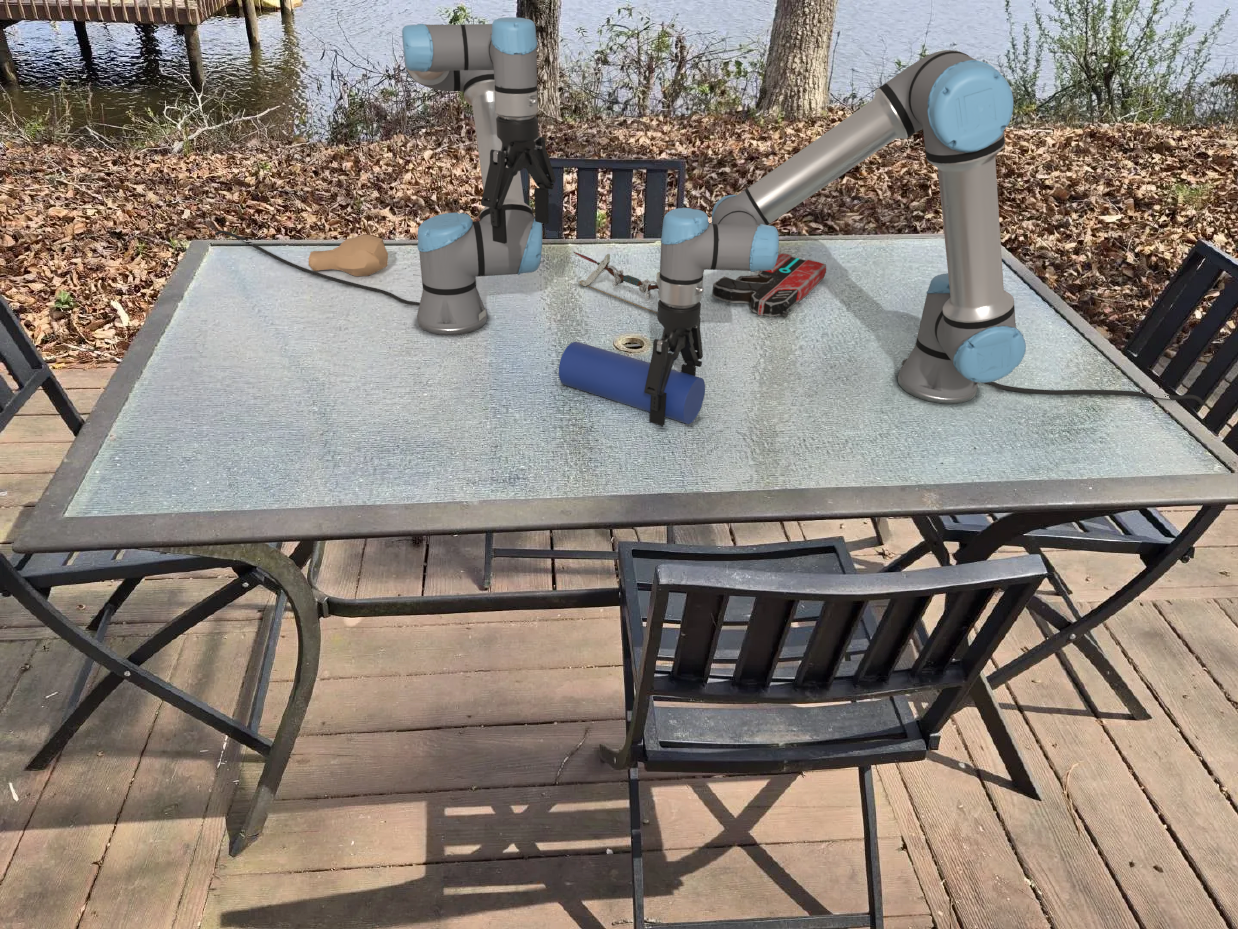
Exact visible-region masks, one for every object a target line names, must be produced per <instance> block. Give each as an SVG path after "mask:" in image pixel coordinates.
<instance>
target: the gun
mask: <svg viewBox="0 0 1238 929" xmlns="http://www.w3.org/2000/svg"><path fill="white" fill-rule="evenodd" d="M826 273H827V264H826V263H823V262H820V261H816V260H812V259H802V258H799V257H795V256H793V255H792V254H791V253H784V252H780V253H779V252H778V258H777V262H776V265H775V266H774V268H773V269H771V270H768V271H758V273H757V274H756V275H753V274H752V275H751V274H750V275H740V276H738V277H737V278H735V279H734V278H731V277H727V276H722V277H720V279H717V281H715V282H713V283H712V291H711V297H713V298H714V299H716V300H719V301H723V302H727V303H730V304H750V305H749V308H750V310H751V312H753V313H755V314H757V315H758V316H760V317H761V316H765V317H770V318H771V317H777V316H780V317H784V318H787V317H788V315H789V311H788V310H790V309H791V308H792V307H793V306H794V305H795V304H798V303H799V302H801V301H802V300H803V299H804V298H805V297H807V296H808V295H809V294H810V293H811V292H812V291H813V290H814V289H815V287H817V285H818V284H820V283H821V282H822V280H823V279H824V278H825V276H826Z"/></svg>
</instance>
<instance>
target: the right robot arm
mask: <svg viewBox="0 0 1238 929" xmlns="http://www.w3.org/2000/svg"><path fill="white" fill-rule="evenodd" d="M1013 111H1014V94H1013V91H1012V88H1011V86H1010V84H1009V82H1008V80H1007V79H1006V77H1004V75H1002V74H1001V72H1000V70H998V69H997V68H995V67H994V66H993V65H991V64H989V63H987V62H984V61H981V60H978V59H976V58H973V57H971V56H970V55H968V54H967V53H965V52H962V51H959V50H955V49H954V50H953V49H945V50H940V51H935V52H932V53H930V54H927V55H926V56H924V57H922V58H920V59H918V60H917V61H916V62H914V63H913V64H910V65H909V66H907V67H906V68H905V69H903V70H902V71H900V72H899V73H897V74H896V75H895V76H894V77H892V78H890V79H889V80H888V81H887V82H885V83H883V84H882V85H880V86H879V87H878V88H877V89H876V91H875V93H874V97H873V99H872V100H870V101H869V102H867V103H866V104H865V105H864V106H861V108H858V110H856V111H854V112H853V113H852V114H850V115H849V116H848V117H846V118H845V119H843V120H842V121H840V122H839V123H838V124H836V125H835V126H834V127H832V128H830V129H829V130H828V131H826V132H824V134H822V135H821V136H820V137H818V138H817V139H815V140H813V141H812V142H811V143H809V144H808V145H807V146H805V147H804V148H803V149H801V150H800V151H798V152H796V153H795V154H794V155H792V156H791V157H790V158H788V159H787V160H786V161H784V162H782V163H781V164H779V166H777V167H776V168H774V169H772V171H770V172H768V173H767V174H766V175H764V176H763V177H761V178H760V179H759V180H757V181H756V182H754V183H753V184H752V185H750V186H749V187H747V188H745V189H744V190H742V191H741V192H740V193H738V194H728V195H725V196H722V197H721V198H719V200H717V201H716V202H715V204H714V205H713V209H712V211H711V223H710V221H709V217H708V216H709V215H708V214H707V213H706V212H705V211H703V210H701V209H699V208H698V209H697V208H691V207H678V208H673V209H671V210H669V211H668V212H667V213H666V214H665V215H664V217H663V220H662V229H661V230H662V231H661V235H660V236H661V237H660V258H659V272H660V276H659V289H658V290H657V291H658V293H657V298H658V301H657V311H656V312H657V313H656V314H657V315H656V318H657V319H656V320H657V321H658V322H659V324H660V325H661V326H662V327H663V332H662V335H661V338H660V339H659V338H654V339H653V342H652V354H651V358H650V362H649V363H650V367H649V372H648V376H647V381H646V385H645V390H644V392H645V393H647V394H650V395H651V406H650V412H649V423H651V424H655V425H658V426H661V427H664V425H665V424H666V417H665V409H666V394H667V393H664V391H665V388H666V385H667V382H668V379H669V375H670V372H671V369H673V366H674V363H675V361H676V360H678V359H679V356H680V355H681V358H682V360H683V362H684V363H682V364H681V368H680V369H681V370H680V372H683V373H686V374H690V375H693V376H697V375H696V374H697V373H696V372H697V367H698V368H701V367H702V364H703V361H701V360H703V356H704V352H703V351H704V350H703V343H702V342H703V341H702V332H701V319H702V318H701V310H702V303H701V300H702V294H703V293H704V291H705V288H704V287H703V282H704V272H705V271H707V270H709V271H736V272H737V271H739V272H751V273H755V272H759V271H768V270H771V269H773V268H774V266H775V265H776V262H777V258H778V254H779V248H780V237H779V231H778V229H777V227H776V226H774V225H771V224H772V223H774V222H775V221H777V219H779V218H781V217H782V216H784V215H785V214H787V213H788V212H789V211H791V210H792V209H795V207H797V206H799V205H800V204H801V203H803V202H805V201H806V200H807V199H809V198H810V197H812V196H813V195H815V194H816V193H817V192H819V191H821V190H822V189H824V188H825V187H827V186H828V185H829V184H831V183H832V182H834V181H835V180H837V179H838V178H840V177H842V176H843V175H845V173H847V172H849V171H850V170H852V169H853V168H855V167H856V166H858V165H859V164H860V163H862V162H863V161H865V160H867V159H868V158H869V157H871V156H872V155H874V154H875V153H877V152H879V151H880V150H881V149H883V148H884V147H886V146H887V145H888V144H890V143H892V142H894V141H895V140H896V139H902V140H907V139H908V138H909V137H911V136H913V135H915V134H916V133H917V132H919V131H923V132H922V133H923V141H924V149H925V158H926V159H925V160H926V161H927V162H928V163H929V164H931V165H932V166H934V167H935V168H937V178H938V186H939V196H940V197H939V198H940V208H941V216H942V224H943V226H942V227H943V238H944V247H945V255H946V267H947V272H946V273H941V274H938V275H935V276H934V277H933V278H931V281H930V282H929V285H928V289H927V290H926V292H925V294H926V296H925V301H924V306H923V309H922V314H921V318H920V323H919V327H918V332H917V336H916V341H915V345H914V346H913V348H912V350H911V351H910V353H909V355H908V357H907V358H906V359H903V360H902V362H901V367H900V369H899V372H898V376H897V383H898V385H899V387H901V389H902V390H904V391H905V392H906V393H907V394H909V395H911V396H913V397H915V398H918V399H921V400H923V401H926V402H927V401H928V402H931V403H935V404H942V405H943V404H945V405H954V404H963V403H966V402H969V401H971V400H972V399H974V397H975V396H976V395H977V391H978V387H979V384H983V385H987V386H990V387H993V388H995V389H996V388H997V389H999V390H1002V391H1003V390H1004V391H1008V392H1015V393H1022V394H1031V395H1033V394H1035V395H1050V396H1051V395H1052V396H1053V395H1054V396H1055V395H1056V396H1057V395H1059V396H1062V395H1063V396H1064V395H1065V396H1068V395H1069V396H1071V395H1109V396H1110V395H1112V396H1113V395H1115V396H1130V397H1142V398H1149V399H1150V398H1151V399H1156V398H1155V397H1154V396H1153V395H1151V394H1143V393H1140V392H1141V391H1138V390H1137V391H1135V390H1121V389H1120V390H1119V389H1039V388H1025V387H1016V386H1010V385H1005V384H1001V383H998V382H995V381H999V380H1001V379H1003V378H1005V377H1007V376H1009V375H1010V374H1011V373H1013V371H1014V370H1015V369H1016V368H1017V367H1019V366H1020V364H1021V362H1022V361H1023V360H1024V357H1025V355H1026V350H1027V344H1026V341H1025V338H1024V334H1023V333H1022V332H1021V330H1020V329H1018V328H1017V324H1016V308H1015V298H1014V296H1013V295H1012V294H1011V293H1010V292H1009V291H1006V290H1005V286H1004V272H1003V270H1004V269H1003V257H1002V255H1003V254H1002V242H1001V225H1000V223H1001V222H1000V211H999V210H1000V208H999V194H998V180H997V179H998V178H997V162H996V157H997V155H998V154H999V153H1000V152H1001V151H1002V150H1003V149H1004V147H1005V145H1006V136H1005V134H1006V133H1005V131H1006V128H1007V127H1008V126H1009V124H1010V122H1011V120H1012V117H1013ZM1166 395H1167V396H1169V398H1170V399H1171V400H1170V401H1183V400H1193V401H1195V402H1196V403H1197V404H1199V405H1205V402H1204V400H1203V399H1202V398H1201V397H1199V396H1198V395H1195V394H1176V395H1174V394H1166ZM1165 397H1166V396H1165Z"/></svg>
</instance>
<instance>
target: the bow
mask: <svg viewBox="0 0 1238 929" xmlns="http://www.w3.org/2000/svg"><path fill="white" fill-rule="evenodd" d="M573 254H574V255H577V256H578V257H580V258H582V259H584V260H586V261H588V262H590V263H593V264H596V265H597V268H595V270H593V271H592V272H591V273H590V274H589V275H588V276H587V278H586V280H583V279H582V280H579V281H578V284H579V285H580V286H583V287H589V288H591V289H593V290H596V291H599V292H600V293H604V294H606V295H609V296H612V297H614V298H617V299H619V300H621V301H625V302H626V303H629V304H632V305H634V306H637V307H640V308H642V309H645V310H647V311H650V312H652V313H655V314H657V311H654V310H652V309H649V308H646V307H644V306H642V305H638V304H636V303H634V302H631V301H628V300H626V299H623V298H621V297H618V296H616V295H613V294H611V293H609V292H606V291H604V290H601V289H598V288H596V287H593V286H590V285H591V284H594V283H595V281H596V280H597V279H598V278H599V277H600V276H601V275H602V274H603V273H604V272H606V271H607V272H608V273H609V274H610V275H611V276H612V277H613V282H612V287H613V288H616V287H619V285H621V284H624V283H628V284H630V285H633V286H636V287H638V290H639V292H640V293H642V294H645V295H644V296H645V298H644V299H645V300H651V299H652V293H651V291H653V290H659V276H660V271H657V272H656V278H655V279H656V281H655V280H651V281H650V280H649V278H646V279H645V280H641V279H640V278H637V277H635V276H632V275H629V274H626V275H625V274H624V270H623V269H620V270H618V269H617V268H616V267H615V266H614V265H612V264H611V265H610V262H611V254H610V253H607V254H605V255H604V258H603V259H602V260H601V261H600V262H598V261H596V260H595V259H593V258H591V257H589V256H588V255H587V256H586V255H584V254H582V253H579V252H576V251H573Z"/></svg>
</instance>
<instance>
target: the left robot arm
mask: <svg viewBox="0 0 1238 929" xmlns="http://www.w3.org/2000/svg"><path fill="white" fill-rule="evenodd" d="M536 29H537V28H536V24H535V22H534V20H532V19H529V18H526V17H517V16H515V17H509V16H508V17H499V18H496V19H494V20H493V21H492V23H473V24H472V23H471V24H469V23H466V24H461V23H460V24H424V23H417V24H407V25H405V26H403V27H402V29H401V37H402V38H401V39H402V48H403V50H402V51H403V57H404V58H403V60H404V61H403V62H404V67H405V70H406V71H407V73H408V75H409V77H410V78H411V79H412V80H413V81H415V82H416V83H418V85H421V86H424V87H426V88H428V89H431V90H435V91H441V92H449V93H450V92H455V93H456V92H462V93H463V97H464V100H465V102H466V103H467V104H469V105H470V106H471V107H472V114H473V121H474V129H475V137H476V144H477V153H478V160H479V168H480V175H481V182H482V191H483V192H482V196H481V201H480V205H481V206H482V207H483V209H482V210H481V211H480V212H479V220H477V221H475V220H474V221H473V218H472V217H471V216H470V215H469V214H468V213H464V212H460V213H459V212H447V213H442V214H441V213H440V214H437V215H434V216H431V217H429V218H427V219H426V220H424V221H423V222H421V224H419V226H418V227H417V228H418V229H417V247H416V248H417V251H418V252H419V253H418V254H419V263H420V275H421V276H420V277H421V284H422V292H421V297H420V302H419V301H413V300H407V299H404V298H402V297H399V296H398V295H396V294H394V293H392V292H389V291H388V290H384V289H381V288H376V287H372V286H367V285H363V284H360V283H355V282H352V281H348V280H344V279H341V278H337V277H333V276H330V275H326V274H323V273H320V272H318V271H313V270H312V269H308V268H305V267H303V266H301V265H298V264H296V263H294V262H291V261H288V260H286V259H284V258H282V257H280V256H278V255H276V254H274V253H272V252H270V251H268V250H267V249H265V248H262V247H261V246H259V245H257V244H255V243H254V244H253V245H250V246H251V247H253V248H254V249H256V250H258V251H260V252H261V253H264V254H265V255H267V256H269V257H271V258H272V259H275V260H277V261H279V262H281V263H283V264H285V265H288V266H290V267H292V268H294V269H297V270H300V271H302V272H305V273H307V274H310V275H313V276H316V277H319V278H323V279H326V280H329V281H333V282H337V283H340V284H343V285H347V286H351V287H354V288H359V289H363V290H366V291H367V290H368V291H371V292H375V293H379V294H383V295H385V296H388V297H390V298H393V299H394V300H396V301H398V302H400V303H403V304H406V305H411V306H417V307H418V310H417V315H416V318H417V325H418V326H419V328H420V329H421V330H423V331H424V332H427V333H430V334H433V335H440V336H459V335H465V334H469V333H473V332H476V331H477V330H480V329H481V328H483V327H484V326H485V325H486V323H487V320H488V316H487V309H486V306H485V304H484V302H483V299H482V298H481V295H480V293H479V291H478V288H477V278H476V277H492V276H493V277H495V276H508V275H518V276H520V275H521V274H529V273H534V272H536V271H537V270H538V269H539V267H540V265H541V262H542V252H543V224H544V225H548V224H549V223H550V221H549V218H550V217H549V202H550V197H549V196H550V193H549V190H553V189H554V188H555V185H554V184H555V183H556V180H557V178H556V176H555V173H554V172H555V171H554V169H553V165H552V163H551V160H550V157H549V153H548V151H547V147H546V146H547V145H546V138H545V137H543V136H539V135H540V134H539V132H540V131H539V118H538V116H536V115H537V114H538V112H539V104H538V66H537V65H538V60H537V56H538V52H537V49H538V48H537V47H538V39H537V30H536ZM523 169H526V171H527V173H528V174H529V175H530V177H531V179H532V180H533V182H534V183H535V185H536V186H537V187H534V189H533V191H534V192H533V194H534V197H533V198H534V212H533V208H532V207H531V206H530V205H528V204H527V203H525V197H524V190H523V189H524V188H523V183H522V175H521V171H522V170H523ZM221 234H223V235H228V236H230V237H232V238H235V239H238V240H241V241H242V240H246V241H249V240H248V239H246V238H245V237H243V236H240V235H238V234H235V233H233V232H230V231H227V230H218V231H216V232H215V234H214V236H215V237H217V236H219V235H221ZM245 243H246V244H247V243H253V242H252V241H250V242H245Z"/></svg>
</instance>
